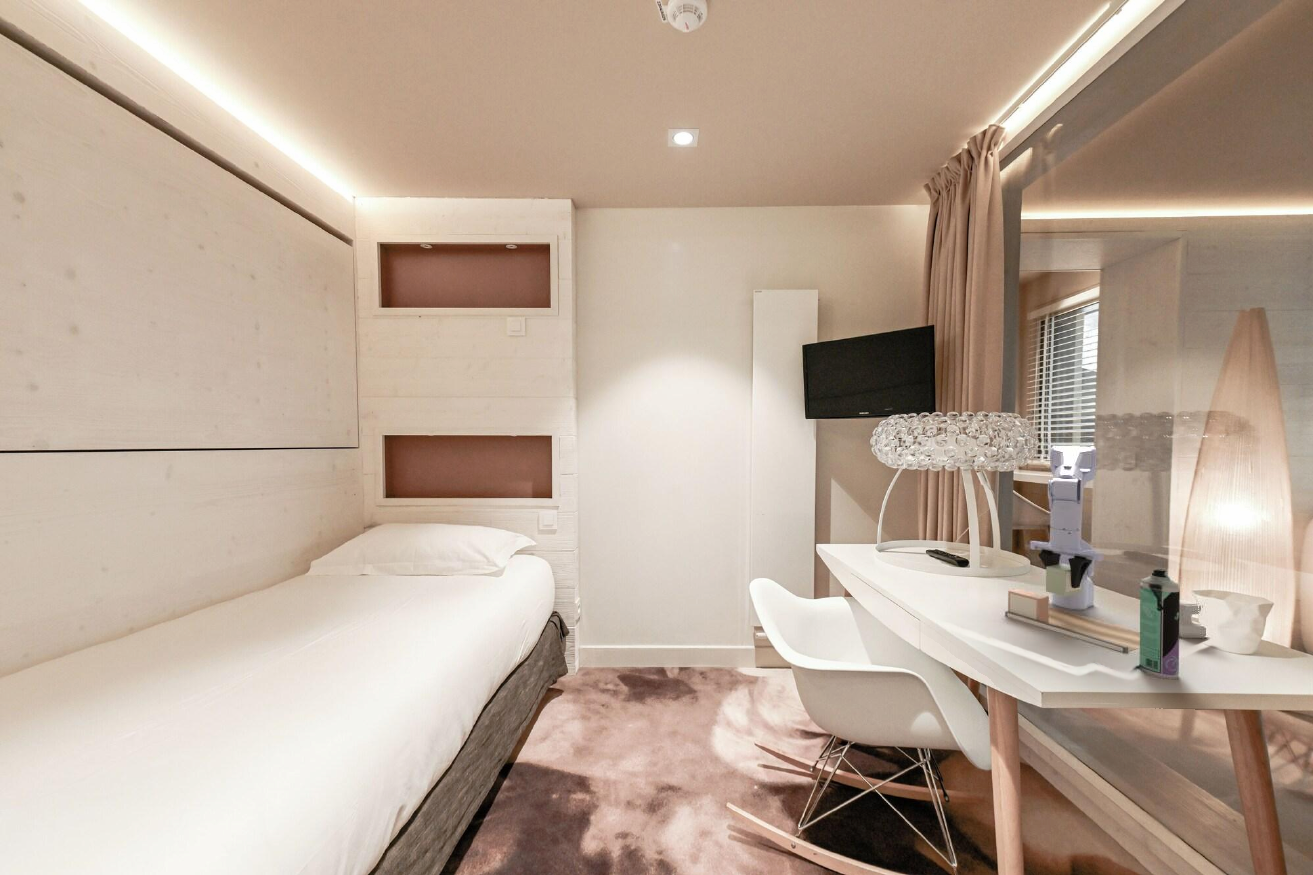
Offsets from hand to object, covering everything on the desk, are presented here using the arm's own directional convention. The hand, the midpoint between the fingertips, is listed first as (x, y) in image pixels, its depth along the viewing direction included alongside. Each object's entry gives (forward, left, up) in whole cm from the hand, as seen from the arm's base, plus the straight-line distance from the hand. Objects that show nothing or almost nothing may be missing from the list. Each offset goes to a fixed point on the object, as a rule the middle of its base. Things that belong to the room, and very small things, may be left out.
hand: (1064, 584), depth 125 cm
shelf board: (+1, +4, -10) cm, 11 cm away
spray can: (+12, +22, -10) cm, 27 cm away
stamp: (-15, +16, -10) cm, 24 cm away
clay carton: (+6, -5, -9) cm, 12 cm away
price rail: (+9, +4, -10) cm, 14 cm away
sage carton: (0, 0, -2) cm, 2 cm away
